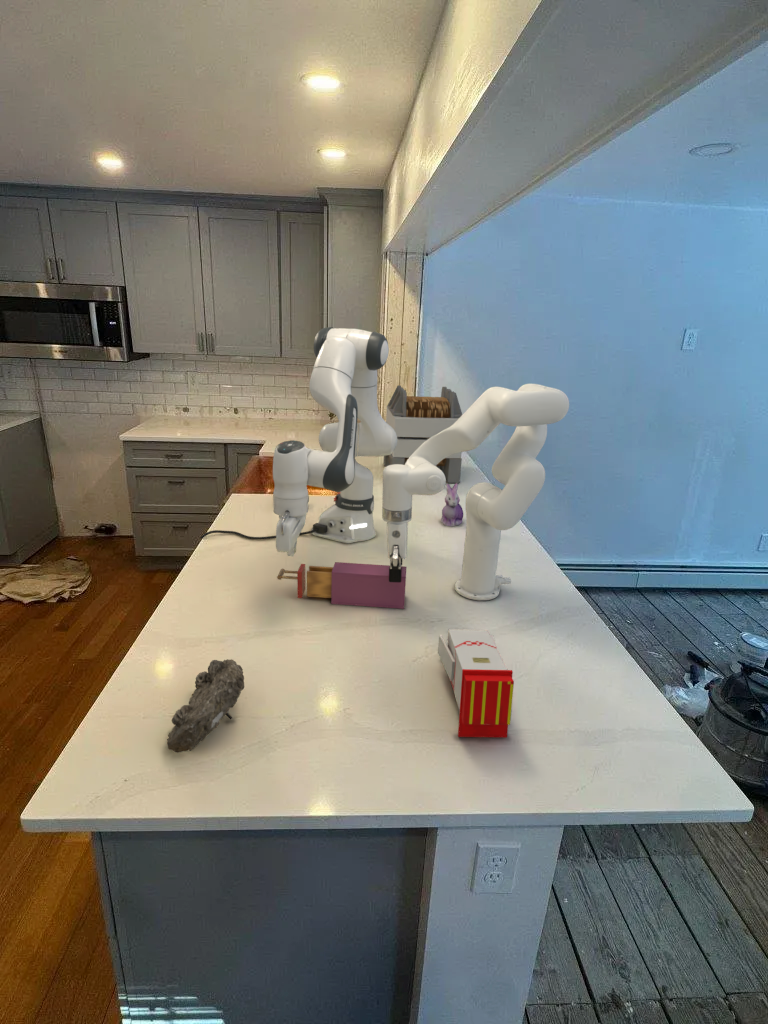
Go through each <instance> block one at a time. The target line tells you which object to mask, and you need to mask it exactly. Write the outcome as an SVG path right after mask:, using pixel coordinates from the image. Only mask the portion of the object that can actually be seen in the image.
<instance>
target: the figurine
mask: <svg viewBox="0 0 768 1024" xmlns="http://www.w3.org/2000/svg"><path fill="white" fill-rule="evenodd" d="M445 487H446V495H445V497H444V502H445V505H444V506H443V507H442V510H441V519H440V522H441V523H442V524H443V525H444V526H447V527H454V526H459V525H461V524H462V523H463V519H464V511H463V508H462V505H461V504H460V501H461V499H460V496H459V494H458V489H459V483H454V485H453V487H451V485H450V483H447V484H445Z"/></svg>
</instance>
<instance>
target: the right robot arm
mask: <svg viewBox="0 0 768 1024" xmlns="http://www.w3.org/2000/svg"><path fill="white" fill-rule="evenodd" d="M569 409H570V400H569V397H568V396H567V394H566V393H565V392H564V391H563V390H561V389H558V388H555V387H550V386H546V385H543V384H538V383H525V384H522V385H521V386H520V387H518V389H517V390H514V389H511V388H506V387H503V386H491V387H489V388H487V389H486V390H484V391H483V392H482V394H481V395H480V396H479V397H478V398H477V399H476V400H475V401H474V402H473V403H472V404H471V405H470V406H469V407H468V408H467V409H466V410H465V411H464V412H463V413H462V416H461V417H460V418H459V419H458V420H457V421H456V422H455V423H454V424H453V425H452V426H450V427H449V428H447V429H445V430H443V431H441V432H439V433H438V434H436V435H434V436H433V437H431V438H429V439H428V440H426V441H425V442H424V443H423V444H422V445H421V446H420V447H419V448H418V449H417V450H416V451H415V452H414V453H413V454H412V455H411V456H410V457H409V459H408V460H407V461H406V463H405V465H402V464H393V465H389V466H384V468H383V470H382V499H381V500H382V507H381V508H382V509H381V513H382V515H381V516H382V517H381V519H382V521H384V522H386V549H387V550H386V551H387V558H388V560H389V566H390V567H389V582H399V583H400V582H401V576H402V568H401V566H403V560H406V559H407V557H408V534H409V533H408V532H409V527H408V525H409V524H408V523H409V522H411V521H412V519H413V518H412V515H413V495H417V496H434V495H437V494H439V493H441V492H442V491H443V490H444V488H445V487H446V485H447V484H446V483H447V481H446V478H445V475H444V473H443V472H442V471H441V470H440V469H439V468H437V466H436V465H437V464H438V463H439V462H440V461H442V460H443V459H444V458H446V457H448V456H450V455H452V454H455V453H459V452H462V453H465V452H470V451H473V450H475V449H477V448H478V447H480V445H481V444H482V443H483V442H484V441H485V440H486V439H487V438H488V437H489V436H490V435H491V434H492V432H494V431H495V429H497V427H498V426H499V425H500V424H502V425H505V426H507V427H515V429H514V431H513V433H512V435H511V436H510V438H509V440H508V441H507V442H506V444H505V445H504V447H503V448H502V450H501V451H500V453H499V454H498V456H497V457H496V459H495V460H494V462H493V463H492V466H491V474H492V476H493V478H494V479H495V480H496V481H498V482H499V483H500V484H501V485H503V488H500V487H499V486H497V485H495V484H493V483H490V482H486V481H485V482H483V481H481V482H478V483H475V484H474V485H472V486H471V487H470V488H469V490H468V491H467V493H466V497H465V517H466V518H465V519H466V520H465V521H466V524H465V537H464V547H463V548H464V549H463V557H462V565H461V577H460V579H458V580H457V581H456V582H455V584H454V590H455V591H456V593H457V594H458V595H460V596H461V597H464V598H466V599H469V600H473V601H489V600H494V599H496V598H497V597H498V596H499V595H500V586H502V585H511V583H512V579H511V577H510V576H507V577H504V576H503V574H497V570H498V569H497V568H498V560H499V553H500V545H501V544H500V543H501V535H502V531H508V530H510V529H513V528H514V527H515V526H516V525H517V524H518V523H519V522H520V520H521V519H522V518H523V516H524V515H525V514H526V512H527V511H528V509H529V508H530V506H531V505H532V504H533V503H534V501H535V499H536V498H537V497H538V495H539V494H540V492H541V490H542V489H543V487H544V484H545V481H546V469H545V467H544V465H543V464H542V463H541V462H540V461H539V460H538V459H537V457H538V455H539V454H540V452H541V450H542V448H543V447H544V445H545V443H546V440H547V436H548V425H552V424H556V423H558V422H560V421H562V420H563V419H564V418H565V417H566V415H567V414H568V412H569Z"/></svg>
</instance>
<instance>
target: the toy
mask: <svg viewBox="0 0 768 1024" xmlns="http://www.w3.org/2000/svg"><path fill="white" fill-rule="evenodd" d="M446 640H447V643H446V641H445V639H444V636H443V635H442V634H439V637H438V646H437V656H438V657H439V659H440V661H441V663H442V666H443V668H444V670H445V672H446V674H447V677H448V679H449V681H450V684H451V687H452V690H453V693H454V697H455V701H456V705H457V708H458V711H459V714H458V715H459V716H458V730H457V731H458V732H457V737H458V738H508V731H509V726H510V725H511V717H512V707H513V697H514V696H513V695H514V684H515V680H514V679H513V673H514V671H513V670H512V669H508V667H507V665H506V662H505V661H504V659H503V658H502V655H501V653H500V651H499V649H498V647H497V643H496V639H495V637H494V635H493V634H491V632H490V631H489V629H467V628H466V629H465V628H463V629H461V628H460V629H459V628H448V630H447V639H446Z"/></svg>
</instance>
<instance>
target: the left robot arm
mask: <svg viewBox="0 0 768 1024" xmlns="http://www.w3.org/2000/svg"><path fill="white" fill-rule="evenodd" d="M389 351H390V349H389V342H388V339H387V338H386V336H385V335H384V334H382V333H380V332H378V331H370V330H366V329H365V330H364V329H360V328H354V327H353V328H348V327H347V328H344V327H340V328H339V327H336V328H335V327H332V326H328V327H323V328H321V329H319V331H317V333H316V334H315V337H314V340H313V355H314V356H315V358H316V359H315V361H314V365H313V368H312V371H311V375H310V380H309V385H308V387H309V388H308V389H309V393H310V395H311V397H312V399H313V401H315V403H316V404H318V405H319V406H320V407H321V408H323V409H325V410H326V411H328V412H330V413H332V415H335V416H336V418H337V420H338V421H337V422H333V423H332V422H331V423H326V424H324V425H323V426H322V427H321V429H320V431H319V433H318V444H319V447H320V449H321V450H319V449H314V448H309V447H306V445H305V443H304V442H303V441H300V440H295V439H294V440H285V441H282V442H280V443H278V444H277V445H276V446H275V448H274V452H273V458H272V480H273V484H274V488H273V492H272V496H273V498H272V500H273V513H274V514H275V515H277V516H278V521H277V524H276V530H275V535H269V536H268V535H267V536H250V535H246V534H243V533H241V532H238V531H233V530H221V529H217V530H209V531H207V532H205V533H203V534H202V535H201V536H200V537H199V539H204V538H205V537H206V536H208V535H211V534H230V535H231V534H233V535H237V536H239V537H241V538H245V539H248V540H257V541H259V540H271V539H275V549H276V551H277V552H278V553H286V555H287V557H295V554H296V552H297V544H298V539H299V537H300V536H303V535H304V536H305V535H309V534H311V536H315V537H319V538H323V539H326V540H330V541H336V542H339V543H343V544H352V543H357V542H365V541H368V540H372V539H373V538H375V537H376V535H377V532H376V528H375V523H374V513H373V512H374V509H375V496H374V474H373V472H372V471H371V469H369V468H368V467H366V466H364V465H362V464H361V463H359V462H358V461H357V460H356V458H357V457H367V458H379V457H384V456H386V455H391V454H392V453H393V451H394V450H395V448H396V446H397V435H396V432H395V431H394V429H393V428H392V427H391V426H390V425H388V424H387V423H386V420H385V419H384V418H383V416H382V415H381V413H380V410H379V406H378V370H380V369H382V367H384V366H385V365H386V362H387V361H388V357H389V353H390V352H389ZM358 420H359V421H360V422H358ZM307 486H310V487H314V488H315V487H316V488H322V489H325V490H328V491H332V492H335V493H337V494H336V495H335V496H334V497H333V502H334V504H333V505H331V506H329V507H328V508H326V509H325V510H323V512H321V514H320V515H319V517H318V521H317V522H316V523H314V524H312V528H311V530H308V531H303V529H304V527H305V525H306V520H307V513H309V502H310V495H309V490H308V487H307Z"/></svg>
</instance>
